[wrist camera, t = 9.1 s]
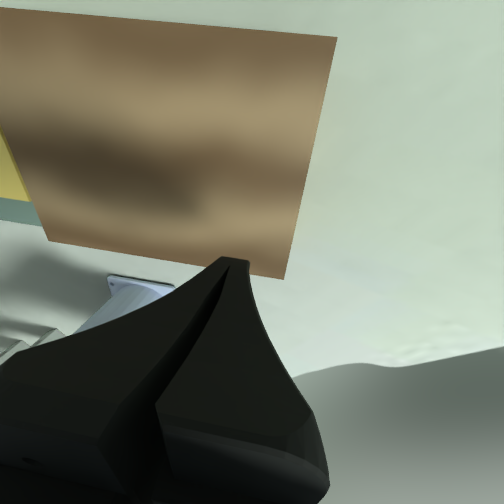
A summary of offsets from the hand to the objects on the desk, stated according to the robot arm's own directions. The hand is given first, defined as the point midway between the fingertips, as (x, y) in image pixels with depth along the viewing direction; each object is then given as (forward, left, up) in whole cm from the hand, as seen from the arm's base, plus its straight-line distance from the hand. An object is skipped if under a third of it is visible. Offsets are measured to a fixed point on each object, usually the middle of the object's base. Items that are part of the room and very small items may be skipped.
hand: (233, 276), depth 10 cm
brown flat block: (+3, +7, -10) cm, 12 cm away
